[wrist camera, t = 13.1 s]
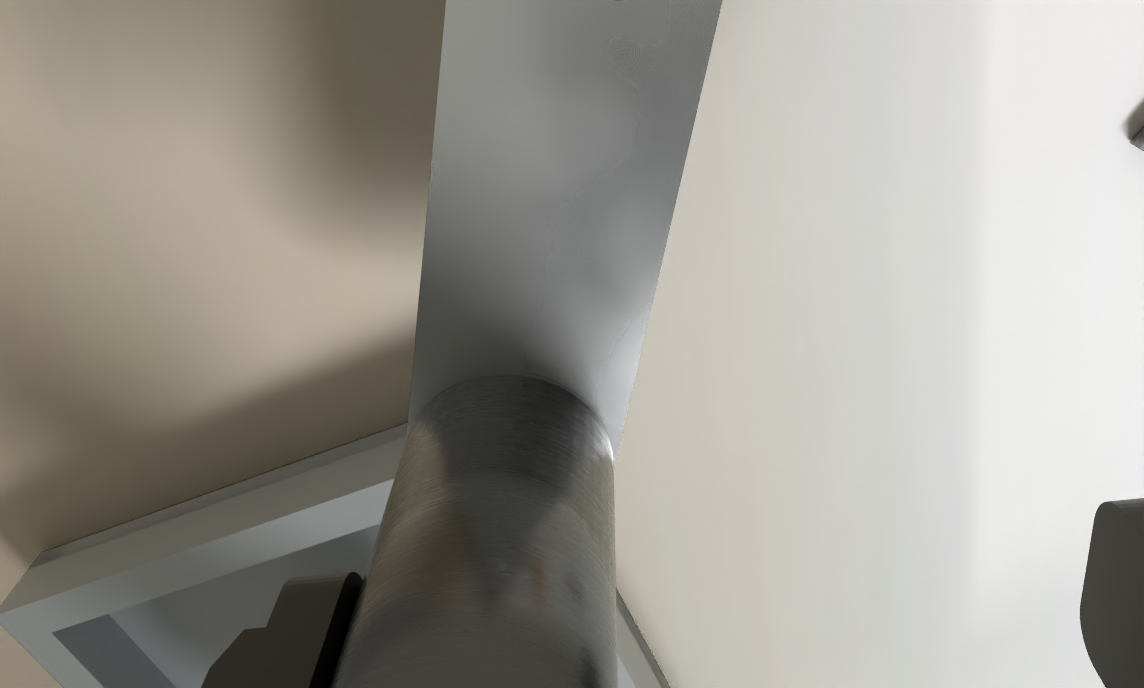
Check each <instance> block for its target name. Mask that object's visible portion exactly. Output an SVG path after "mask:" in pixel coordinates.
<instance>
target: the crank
mask: <svg viewBox="0 0 1144 688" xmlns="http://www.w3.org/2000/svg"><path fill="white" fill-rule="evenodd" d="M721 4H722V0H446V6H445V17H444V28H443V39H442V50H441V61H440V72H439V83H438V94H437V105H436V116H435V127H434V139H433V150H432V161H431V172H430V183H429V194H428V205H427V216H426V227H425V238H424V249H423V260H422V271H421V282H420V293H419V304H418V315H417V326H416V337H415V348H414V359H413V370H412V381H411V392H410V403H409V414H408V425H407V436H406V443H405V446H404V449H403V453H402V456H401V459H400V462H399V466H398V469H397V472H396V475H395V479H394V482H393V485H392V488H391V491H390V495H389V498H388V501H387V504H386V508H385V511H384V514H383V517H382V520H381V524H380V527H379V530H378V533H377V537H376V540H375V543H374V546H373V550H372V553H371V556H370V559H369V562H368V566H367V569H366V572H365V575H364V579H363V582H362V585H361V588H360V591H359V595H358V598H357V601H356V604H355V608H354V611H353V614H352V617H351V621H350V624H349V627H348V630H347V633H346V637H345V640H344V643H343V646H342V650H341V653H340V656H339V659H338V662H337V666H336V669H335V672H334V675H333V679H332V682H331V685H330V688H618V662H617V613H616V565H615V517H614V467H615V463H616V458H617V454H618V450H619V445H620V441H621V437H622V432H623V428H624V424H625V419H626V415H627V411H628V406H629V402H630V398H631V393H632V389H633V385H634V380H635V376H636V372H637V367H638V363H639V359H640V354H641V350H642V346H643V342H644V337H645V333H646V329H647V324H648V320H649V316H650V311H651V307H652V303H653V298H654V294H655V290H656V285H657V281H658V277H659V272H660V268H661V264H662V259H663V255H664V251H665V246H666V242H667V238H668V233H669V229H670V225H671V220H672V216H673V212H674V207H675V203H676V199H677V194H678V190H679V186H680V181H681V177H682V173H683V168H684V164H685V160H686V155H687V151H688V147H689V142H690V138H691V134H692V130H693V125H694V121H695V117H696V112H697V108H698V104H699V99H700V95H701V91H702V86H703V82H704V78H705V73H706V69H707V65H708V60H709V56H710V52H711V47H712V43H713V39H714V34H715V30H716V26H717V21H718V17H719V13H720V8H721Z"/></svg>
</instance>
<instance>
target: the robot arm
mask: <svg viewBox="0 0 1144 688" xmlns="http://www.w3.org/2000/svg"><path fill="white" fill-rule="evenodd" d="M362 582H363V580H362V578H361V576H360V575H359V574H358V573H356V572H345V573H334V574H324V575H314V576H303V577H293V578H290V579H288V580H287V581H286V582H285V584H284V585H283V587H282V589H281V591H280V594H279V596H278V599H277V601H276V603H275V606H274V608H273V611H272V613H271V616H270V618H269V621H268V623H267V625H266V627H263V628H252V629H244V630H243V631H242V632H241V633H240V635H239V636H238V637H237V638H236V639H235V640H234V641H233V642H232V644H231V645H230V646H229V647H228V648H227V649H226V650H225V651H224V652H223V654H222V655H221V656H220V657H219V658H218V659H217V660H216V661H215V662H214V664H213V665H212V666H211V667H210V668H209V670H208V673H207V675H206V677H205V679H204V681H203V684H202V686H201V688H330V685H331V682H332V679H333V675H334V672H335V669H336V666H337V662H338V659H339V656H340V653H341V650H342V646H343V643H344V640H345V637H346V633H347V630H348V627H349V624H350V621H351V617H352V614H353V611H354V608H355V604H356V601H357V598H358V595H359V591H360V588H361V585H362ZM1080 622H1081V629H1082V634H1083V639H1084V642H1085V646H1086V649H1087V652H1088V655H1089V657H1090V660H1091V662H1092V664H1093V666H1094V668H1095V670H1096V672H1097V673H1098V675H1099V677H1100V678H1101V680H1102V682H1103V684H1104V685H1105V687H1106V688H1144V498H1140V499H1130V500H1119V501H1109V502H1104V503H1102V504H1101V505H1100V506H1099V507H1098V509H1097V511H1096V514H1095V518H1094V524H1093V530H1092V536H1091V543H1090V549H1089V555H1088V561H1087V567H1086V573H1085V579H1084V586H1083V592H1082V598H1081V605H1080Z"/></svg>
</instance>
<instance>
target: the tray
mask: <svg viewBox="0 0 1144 688" xmlns="http://www.w3.org/2000/svg"><path fill="white" fill-rule="evenodd" d="M407 425H408V422H407V423H404V424H401V425H399V426H396V427H393V428H390V429H387V430H385V431H382V432H379V433H376V434H373V435H371V436H368V437H365V438H362V439H359V440H357V441H354V442H351V443H348V444H345V445H343V446H340V447H337V448H334V449H331V450H329V451H326V452H323V453H320V454H317V455H315V456H312V457H309V458H306V459H303V460H301V461H298V462H295V463H292V464H289V465H286V466H284V467H281V468H278V469H275V470H272V471H270V472H267V473H264V474H261V475H258V476H256V477H253V478H250V479H247V480H244V481H242V482H239V483H236V484H233V485H230V486H228V487H225V488H222V489H219V490H216V491H214V492H211V493H208V494H205V495H202V496H200V497H197V498H194V499H191V500H188V501H186V502H183V503H180V504H177V505H174V506H171V507H169V508H166V509H163V510H160V511H157V512H155V513H152V514H149V515H146V516H143V517H141V518H138V519H135V520H132V521H129V522H127V523H124V524H121V525H118V526H115V527H113V528H110V529H107V530H104V531H101V532H99V533H96V534H93V535H90V536H87V537H85V538H82V539H79V540H76V541H73V542H71V543H68V544H65V545H62V546H59V547H56V548H54V549H51V550H48V551H45V552H42V553H40V554H39V556H38V557H37V558H36V560H35V561H34V562H33V564H32V565H31V566H30V568H29V569H28V570H27V572H26V573H25V574H24V576H23V577H22V578H21V579H20V581H19V582H18V583H17V585H16V586H15V587H14V589H13V590H12V591H11V593H10V594H9V595H8V597H7V598H6V599H5V601H4V602H3V603H2V605H1V606H0V624H1V625H2V626H3V627H4V628H5V629H6V630H7V631H8V632H9V633H10V634H11V635H12V636H13V637H14V638H15V639H16V640H17V641H18V642H19V643H20V644H21V645H22V647H23V648H24V649H25V650H26V651H27V652H28V653H29V654H30V655H31V656H32V657H33V658H34V659H35V660H36V661H37V662H38V663H39V664H40V665H41V666H42V667H43V668H44V669H45V670H46V671H47V672H48V673H49V674H50V675H51V676H52V677H53V678H54V679H55V680H56V681H57V682H58V683H59V684H60V685H61V686H62V687H63V688H201V686H202V684H203V681H204V679H205V677H206V675H207V673H208V670H209V668H210V667H211V666H212V665H213V664H214V662H215V661H216V660H217V659H218V658H219V657H220V656H221V655H222V654H223V652H224V651H225V650H226V649H227V648H228V647H229V646H230V645H231V644H232V642H233V641H234V640H235V639H236V638H237V637H238V636H239V635H240V633H241V632H242V631H243V630H244V629H252V628H263V627H266V625H267V623H268V621H269V618H270V616H271V613H272V611H273V608H274V606H275V603H276V601H277V599H278V596H279V594H280V591H281V589H282V587H283V585H284V584H285V582H286V581H287V580H288V579H290V578H293V577H303V576H314V575H324V574H334V573H345V572H356V573H358V574H359V575H360V576H361V578H362V580H363V579H364V575H365V572H366V569H367V566H368V562H369V559H370V556H371V553H372V550H373V546H374V543H375V540H376V537H377V533H378V530H379V527H380V524H381V520H382V517H383V514H384V511H385V508H386V504H387V501H388V498H389V495H390V491H391V488H392V485H393V482H394V479H395V475H396V472H397V469H398V466H399V462H400V459H401V456H402V453H403V449H404V446H405V443H406V436H407ZM616 613H617V662H618V688H670V687H669V685H668V683H667V681H666V679H665V677H664V676H663V674H662V672H661V670H660V668H659V666H658V665H657V663H656V661H655V659H654V657H653V655H652V654H651V652H650V650H649V648H648V646H647V644H646V642H645V641H644V639H643V637H642V635H641V633H640V631H639V630H638V628H637V626H636V624H635V622H634V620H633V619H632V617H631V615H630V613H629V611H628V609H627V608H626V606H625V604H624V602H623V600H622V598H621V597H620V595H619V593H618V591H617V589H616Z"/></svg>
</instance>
